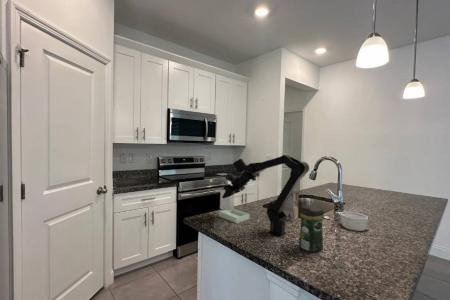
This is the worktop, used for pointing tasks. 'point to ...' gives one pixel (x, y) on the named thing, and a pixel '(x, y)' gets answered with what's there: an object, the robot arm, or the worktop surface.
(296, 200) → the coffee box
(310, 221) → the coffee jar
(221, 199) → the tin
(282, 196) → the robot arm
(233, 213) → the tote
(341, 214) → the ramekin
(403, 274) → the worktop surface
